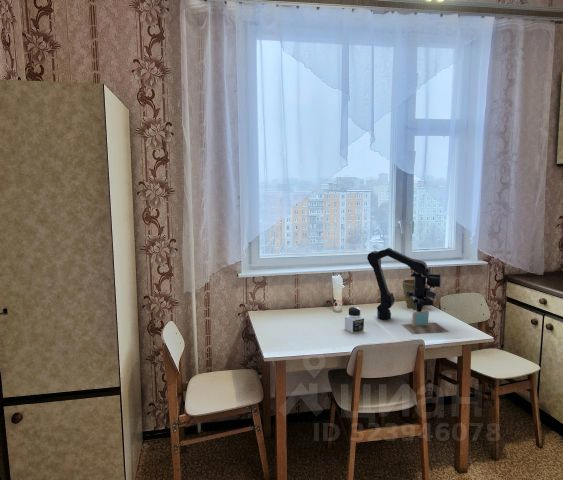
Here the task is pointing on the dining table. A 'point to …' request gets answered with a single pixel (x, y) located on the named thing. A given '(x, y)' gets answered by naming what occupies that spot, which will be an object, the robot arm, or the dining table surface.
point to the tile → (420, 318)
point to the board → (425, 328)
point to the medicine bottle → (354, 321)
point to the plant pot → (407, 287)
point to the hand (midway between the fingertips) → (418, 313)
